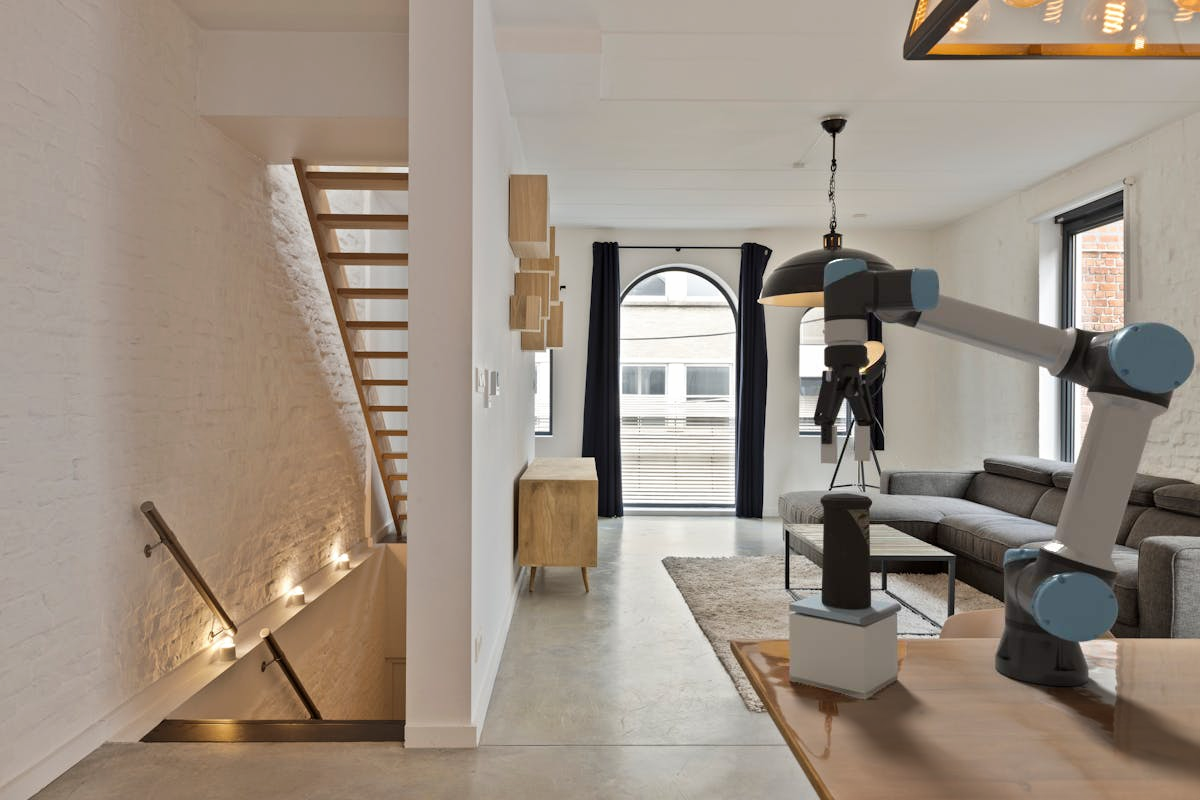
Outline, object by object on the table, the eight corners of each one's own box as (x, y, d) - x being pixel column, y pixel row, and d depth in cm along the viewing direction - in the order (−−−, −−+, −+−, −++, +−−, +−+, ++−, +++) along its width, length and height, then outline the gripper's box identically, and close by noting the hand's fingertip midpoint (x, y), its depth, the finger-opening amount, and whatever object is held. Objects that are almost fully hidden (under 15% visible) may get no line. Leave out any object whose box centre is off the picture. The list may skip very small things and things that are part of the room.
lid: (788, 611, 139) (788, 603, 139) (825, 598, 150) (825, 591, 150) (867, 626, 129) (867, 618, 129) (901, 611, 140) (901, 604, 140)
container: (875, 611, 134) (875, 496, 135) (821, 608, 136) (822, 494, 137) (868, 600, 143) (868, 492, 143) (817, 597, 145) (818, 490, 145)
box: (897, 679, 140) (897, 613, 140) (864, 699, 130) (864, 627, 130) (825, 663, 149) (825, 600, 150) (789, 680, 139) (789, 613, 139)
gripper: (855, 351, 153) (856, 459, 152) (793, 341, 134) (793, 463, 134) (893, 349, 148) (894, 460, 147) (833, 338, 129) (834, 465, 129)
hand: (846, 462), depth 140 cm, fingers open, 13 cm apart
